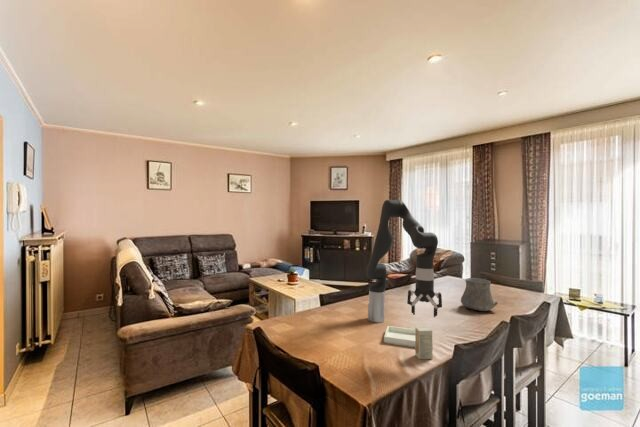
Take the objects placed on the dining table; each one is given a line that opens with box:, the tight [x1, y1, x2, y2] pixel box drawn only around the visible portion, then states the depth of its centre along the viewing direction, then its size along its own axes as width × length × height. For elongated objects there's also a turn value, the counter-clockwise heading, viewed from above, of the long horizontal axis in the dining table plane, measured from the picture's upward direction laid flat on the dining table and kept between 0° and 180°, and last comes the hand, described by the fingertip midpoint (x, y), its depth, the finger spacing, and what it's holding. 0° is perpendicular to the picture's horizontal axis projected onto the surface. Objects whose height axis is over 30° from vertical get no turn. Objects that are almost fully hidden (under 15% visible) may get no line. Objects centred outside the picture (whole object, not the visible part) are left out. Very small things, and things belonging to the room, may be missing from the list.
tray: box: [383, 325, 434, 350], centre depth 151 cm, size 22×16×3 cm
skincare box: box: [414, 326, 434, 360], centre depth 132 cm, size 6×4×12 cm
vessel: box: [460, 277, 499, 312], centre depth 206 cm, size 22×22×20 cm
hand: (424, 315), depth 133 cm, fingers open, 8 cm apart
